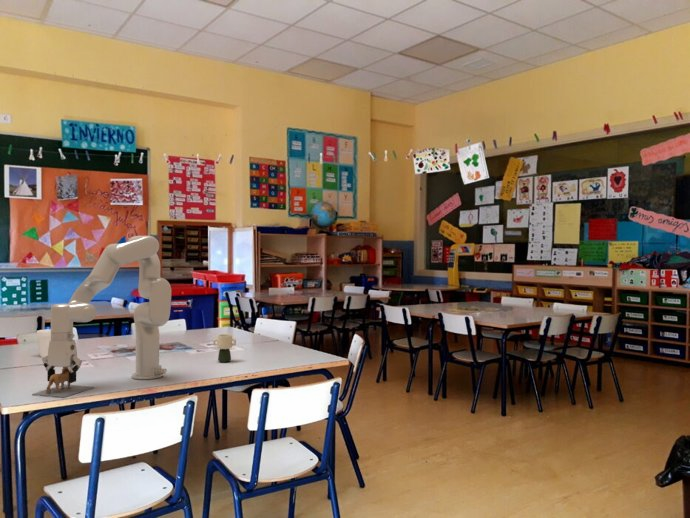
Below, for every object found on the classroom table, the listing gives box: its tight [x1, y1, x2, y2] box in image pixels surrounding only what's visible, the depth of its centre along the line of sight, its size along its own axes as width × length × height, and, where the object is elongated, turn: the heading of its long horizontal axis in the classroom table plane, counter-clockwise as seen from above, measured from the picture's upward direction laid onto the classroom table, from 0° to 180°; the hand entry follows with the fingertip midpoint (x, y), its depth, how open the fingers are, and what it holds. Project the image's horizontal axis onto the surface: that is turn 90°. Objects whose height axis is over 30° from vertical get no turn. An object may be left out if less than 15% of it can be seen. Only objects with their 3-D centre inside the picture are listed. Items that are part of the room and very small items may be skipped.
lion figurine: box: [45, 367, 73, 394], centre depth 214 cm, size 15×5×9 cm, turn 178°
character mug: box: [212, 333, 237, 363], centre depth 273 cm, size 11×7×13 cm, turn 93°
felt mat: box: [31, 383, 95, 399], centre depth 214 cm, size 14×16×1 cm
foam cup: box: [36, 328, 51, 358], centre depth 285 cm, size 10×9×13 cm
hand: (61, 381), depth 214 cm, fingers open, 9 cm apart
